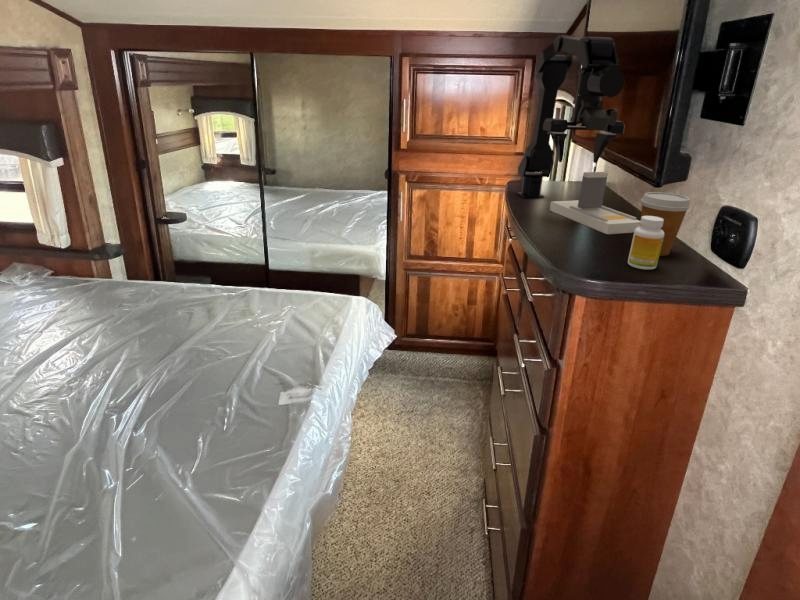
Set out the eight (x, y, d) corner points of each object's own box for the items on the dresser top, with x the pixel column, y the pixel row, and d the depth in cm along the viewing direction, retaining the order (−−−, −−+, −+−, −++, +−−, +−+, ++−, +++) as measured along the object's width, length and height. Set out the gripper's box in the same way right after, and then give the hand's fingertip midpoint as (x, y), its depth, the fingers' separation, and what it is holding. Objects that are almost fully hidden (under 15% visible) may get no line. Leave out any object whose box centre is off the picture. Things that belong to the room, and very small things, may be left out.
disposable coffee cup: (621, 248, 114) (633, 194, 109) (645, 242, 119) (657, 190, 114) (663, 261, 107) (677, 203, 102) (686, 253, 112) (701, 198, 107)
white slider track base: (549, 210, 145) (551, 199, 144) (579, 208, 148) (581, 198, 147) (607, 234, 124) (609, 221, 123) (640, 231, 127) (643, 219, 126)
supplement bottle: (659, 271, 101) (671, 222, 97) (630, 268, 102) (641, 220, 98) (652, 262, 106) (664, 215, 102) (624, 260, 107) (635, 213, 103)
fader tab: (577, 207, 136) (583, 172, 133) (596, 206, 138) (602, 171, 135) (582, 208, 135) (588, 173, 131) (601, 207, 137) (608, 173, 133)
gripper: (565, 95, 116) (554, 167, 122) (643, 98, 118) (629, 168, 124) (546, 93, 126) (537, 159, 132) (618, 96, 128) (606, 161, 134)
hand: (577, 162), depth 130 cm, fingers open, 9 cm apart
